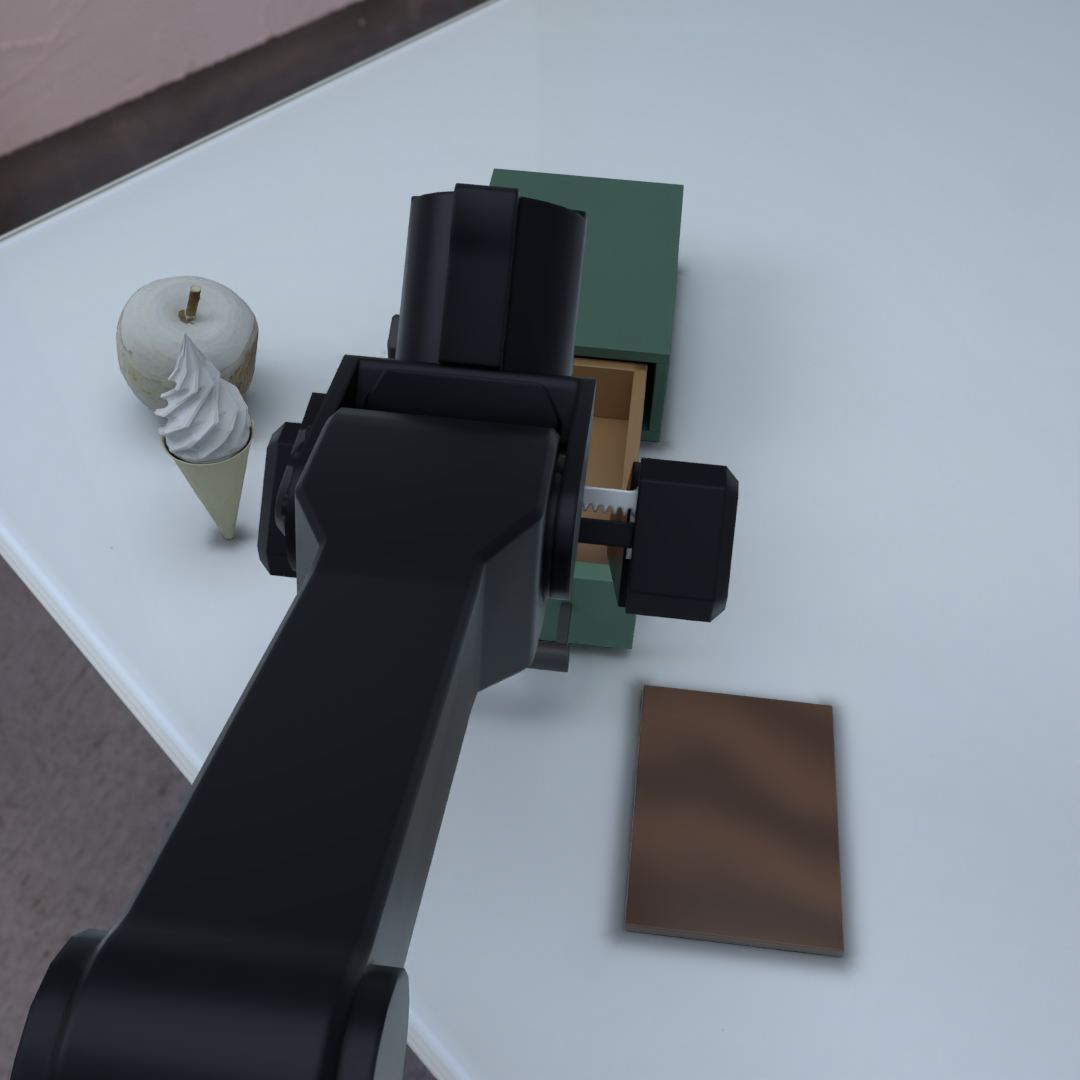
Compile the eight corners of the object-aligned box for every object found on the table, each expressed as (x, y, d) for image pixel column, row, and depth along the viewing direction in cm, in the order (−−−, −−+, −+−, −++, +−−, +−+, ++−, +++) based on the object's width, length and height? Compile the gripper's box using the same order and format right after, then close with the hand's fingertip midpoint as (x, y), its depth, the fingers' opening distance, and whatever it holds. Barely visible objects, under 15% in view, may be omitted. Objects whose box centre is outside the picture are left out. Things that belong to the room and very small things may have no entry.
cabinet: (659, 442, 84) (670, 354, 79) (450, 421, 85) (448, 333, 80) (673, 269, 98) (684, 184, 93) (493, 252, 99) (493, 167, 94)
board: (841, 957, 60) (844, 951, 60) (623, 930, 61) (624, 924, 60) (830, 712, 70) (832, 705, 69) (642, 691, 70) (643, 684, 70)
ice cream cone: (168, 552, 76) (115, 347, 66) (215, 497, 80) (171, 292, 69) (243, 578, 75) (202, 372, 64) (288, 520, 78) (255, 316, 68)
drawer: (626, 712, 68) (634, 647, 64) (391, 685, 69) (385, 620, 65) (651, 427, 84) (659, 362, 80) (460, 408, 85) (458, 342, 81)
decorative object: (141, 368, 88) (110, 240, 81) (273, 364, 89) (254, 237, 82) (124, 457, 82) (89, 327, 75) (266, 451, 83) (245, 322, 75)
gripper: (773, 314, 45) (734, 367, 60) (236, 264, 46) (334, 328, 61) (738, 639, 45) (708, 608, 60) (205, 581, 46) (311, 565, 62)
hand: (514, 520), depth 61 cm, fingers open, 9 cm apart
